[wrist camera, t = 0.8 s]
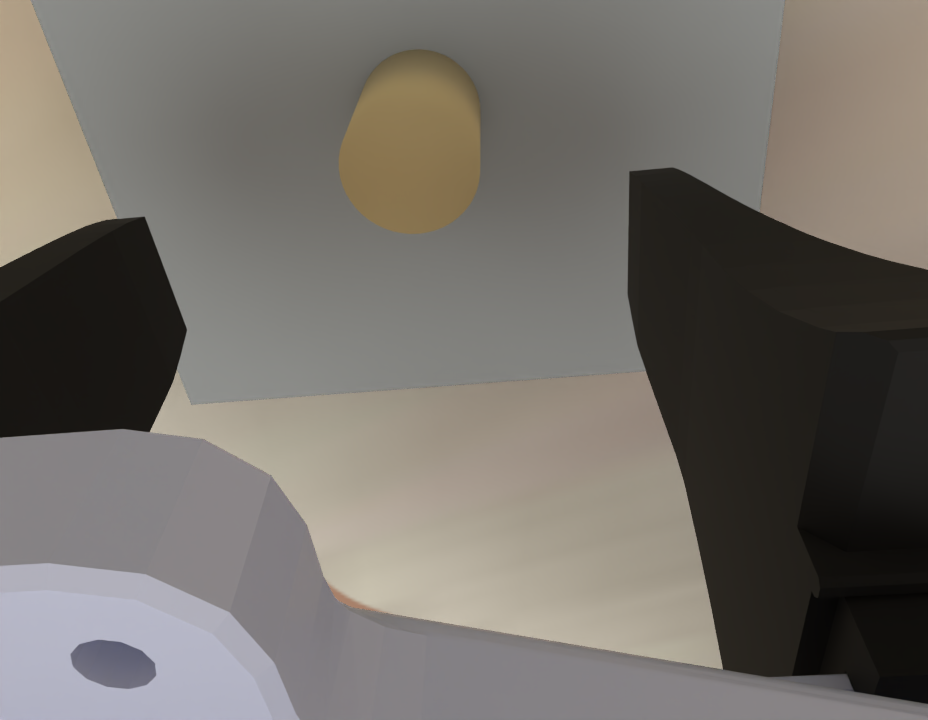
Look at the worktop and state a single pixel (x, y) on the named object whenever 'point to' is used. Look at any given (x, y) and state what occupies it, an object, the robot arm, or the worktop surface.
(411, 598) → the worktop surface
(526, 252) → the lid
